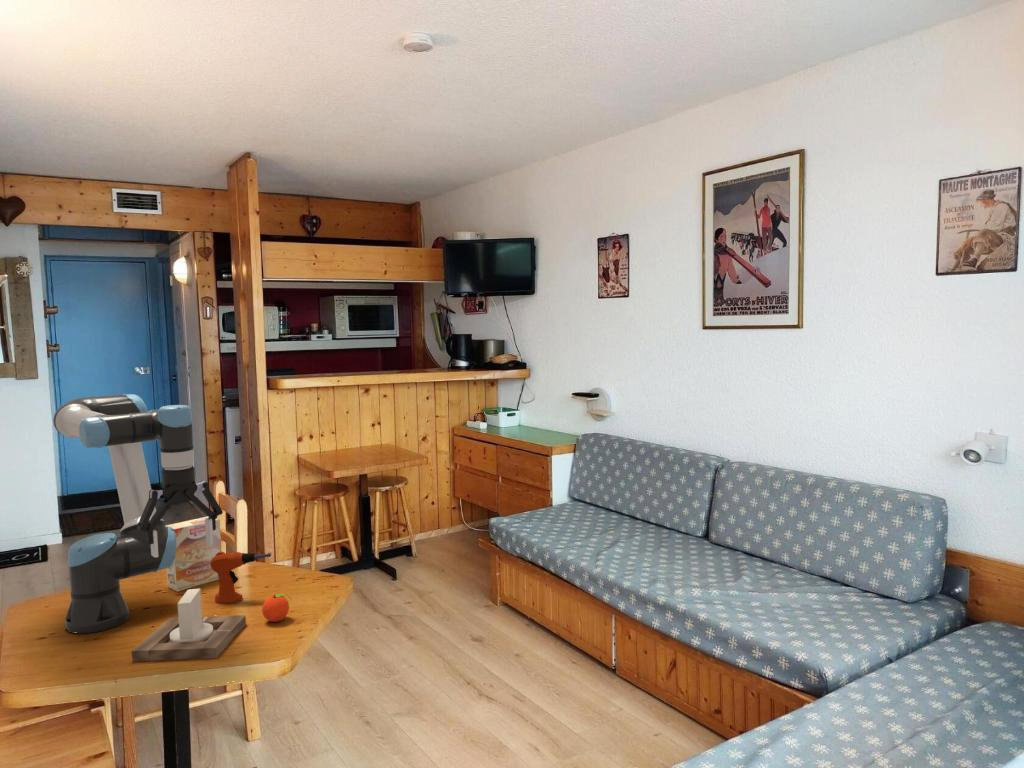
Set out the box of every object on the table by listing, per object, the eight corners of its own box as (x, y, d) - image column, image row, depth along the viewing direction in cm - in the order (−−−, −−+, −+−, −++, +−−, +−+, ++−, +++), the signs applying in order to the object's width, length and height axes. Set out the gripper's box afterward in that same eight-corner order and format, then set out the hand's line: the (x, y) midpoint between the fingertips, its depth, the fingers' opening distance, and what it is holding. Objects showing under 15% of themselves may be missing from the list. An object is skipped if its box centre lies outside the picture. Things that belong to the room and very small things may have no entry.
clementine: (286, 612, 200) (285, 587, 200) (298, 619, 195) (296, 593, 195) (258, 621, 195) (256, 595, 194) (269, 628, 190) (268, 601, 189)
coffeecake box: (177, 592, 219) (172, 529, 218) (166, 587, 224) (162, 525, 223) (224, 578, 231) (220, 518, 229) (213, 574, 235) (209, 515, 234)
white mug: (208, 644, 179) (205, 601, 178) (165, 648, 177) (162, 605, 176) (220, 622, 192) (217, 582, 192) (180, 626, 191) (177, 585, 190)
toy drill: (275, 598, 207) (265, 547, 206) (212, 606, 209) (203, 556, 208) (281, 592, 212) (272, 542, 211) (220, 600, 214) (211, 551, 213)
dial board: (132, 661, 173) (131, 650, 172) (170, 627, 193) (169, 617, 192) (216, 658, 173) (215, 647, 173) (245, 624, 193) (245, 614, 193)
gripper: (220, 457, 193) (224, 535, 195) (119, 473, 175) (124, 558, 177) (233, 461, 188) (237, 541, 189) (129, 477, 170) (135, 565, 172)
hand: (183, 549), depth 183 cm, fingers open, 13 cm apart
